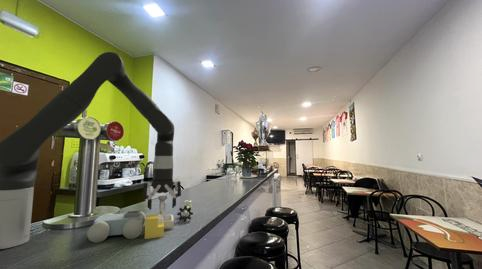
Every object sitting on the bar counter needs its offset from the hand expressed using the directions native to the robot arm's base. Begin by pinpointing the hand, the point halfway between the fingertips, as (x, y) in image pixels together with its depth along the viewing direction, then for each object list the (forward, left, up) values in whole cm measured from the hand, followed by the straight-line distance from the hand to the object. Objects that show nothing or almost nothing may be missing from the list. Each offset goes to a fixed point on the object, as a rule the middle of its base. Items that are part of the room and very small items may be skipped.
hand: (161, 208), depth 86 cm
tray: (0, 0, -7) cm, 7 cm away
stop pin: (0, 0, -6) cm, 6 cm away
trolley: (-14, -4, -7) cm, 16 cm away
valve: (+10, +9, -7) cm, 16 cm away
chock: (-2, -9, -7) cm, 12 cm away
